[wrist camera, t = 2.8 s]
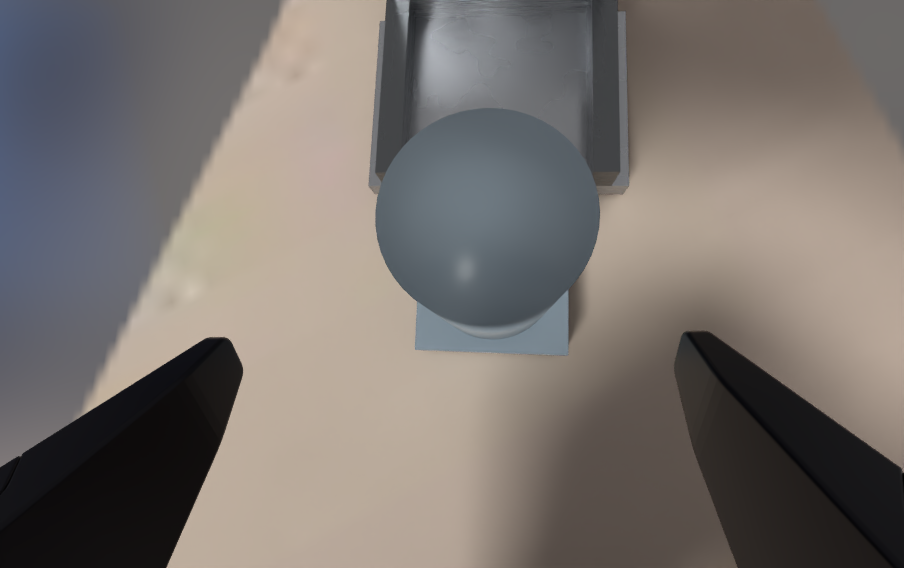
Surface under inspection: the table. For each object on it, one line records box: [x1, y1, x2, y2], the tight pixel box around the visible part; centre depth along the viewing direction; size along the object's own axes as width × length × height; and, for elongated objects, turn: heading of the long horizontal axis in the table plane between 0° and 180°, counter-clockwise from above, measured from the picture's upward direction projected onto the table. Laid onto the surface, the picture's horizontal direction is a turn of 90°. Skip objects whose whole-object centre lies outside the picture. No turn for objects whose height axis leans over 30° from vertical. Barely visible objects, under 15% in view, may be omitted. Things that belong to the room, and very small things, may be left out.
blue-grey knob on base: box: [376, 108, 600, 356], centre depth 15 cm, size 6×6×10 cm
